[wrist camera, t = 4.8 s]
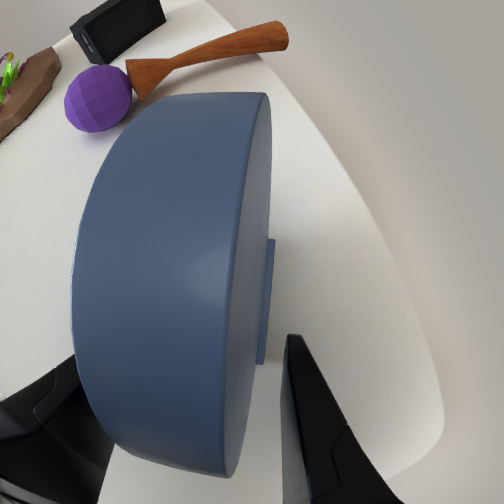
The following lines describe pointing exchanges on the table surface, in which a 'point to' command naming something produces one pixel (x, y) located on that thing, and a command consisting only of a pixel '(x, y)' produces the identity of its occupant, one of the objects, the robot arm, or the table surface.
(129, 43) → the digital camera
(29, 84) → the plant
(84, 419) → the robot arm
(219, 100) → the disc
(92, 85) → the kendama
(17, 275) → the table surface
